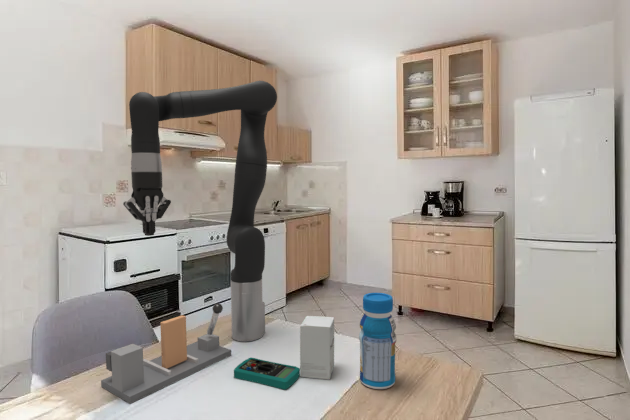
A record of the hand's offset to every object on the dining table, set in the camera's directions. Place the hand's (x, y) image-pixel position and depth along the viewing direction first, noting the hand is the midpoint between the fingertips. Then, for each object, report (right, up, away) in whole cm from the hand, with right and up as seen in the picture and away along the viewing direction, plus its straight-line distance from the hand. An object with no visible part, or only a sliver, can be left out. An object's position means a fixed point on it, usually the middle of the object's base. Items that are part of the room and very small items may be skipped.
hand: (149, 235), depth 106 cm
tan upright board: (+10, -31, -10) cm, 34 cm away
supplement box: (+45, -33, -10) cm, 57 cm away
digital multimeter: (+33, -33, -13) cm, 49 cm away
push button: (-1, -29, -17) cm, 33 cm away
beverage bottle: (+59, -33, -15) cm, 69 cm away
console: (+9, -33, -9) cm, 35 cm away
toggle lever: (+16, -27, 0) cm, 32 cm away
